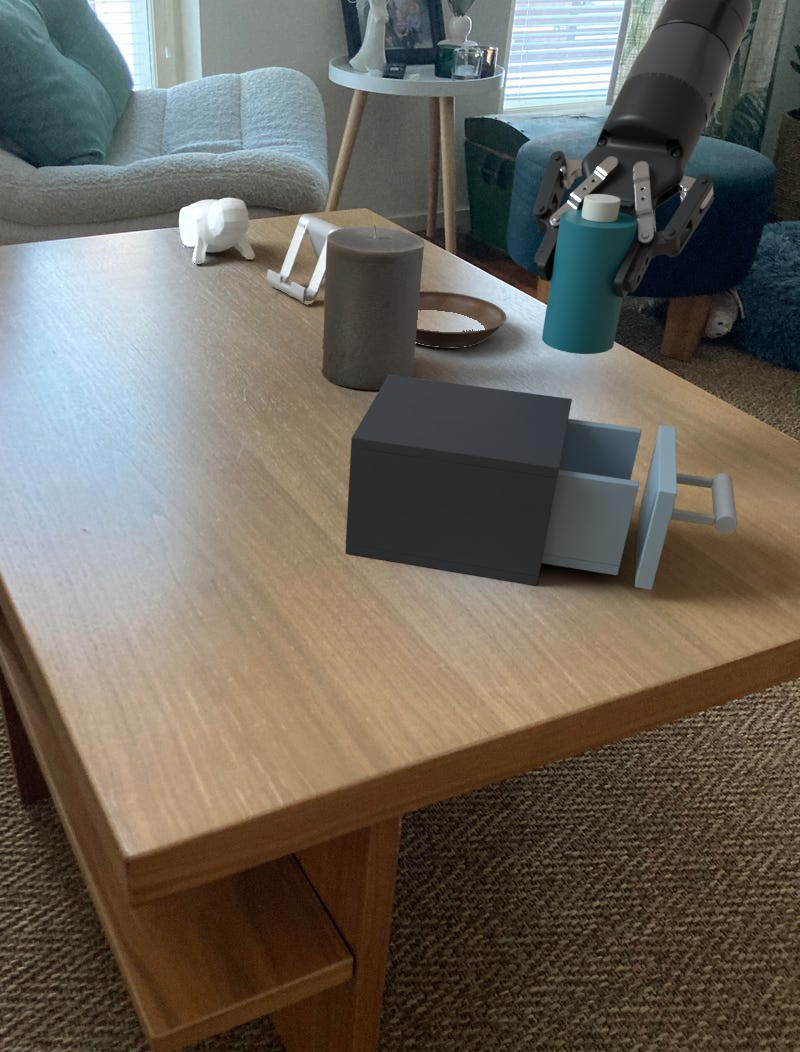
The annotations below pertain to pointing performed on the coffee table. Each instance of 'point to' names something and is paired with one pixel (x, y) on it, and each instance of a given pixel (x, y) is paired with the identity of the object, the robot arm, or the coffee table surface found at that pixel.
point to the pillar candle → (370, 305)
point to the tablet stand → (318, 238)
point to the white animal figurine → (215, 227)
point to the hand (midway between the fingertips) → (580, 283)
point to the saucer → (465, 306)
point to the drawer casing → (455, 477)
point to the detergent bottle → (587, 276)
